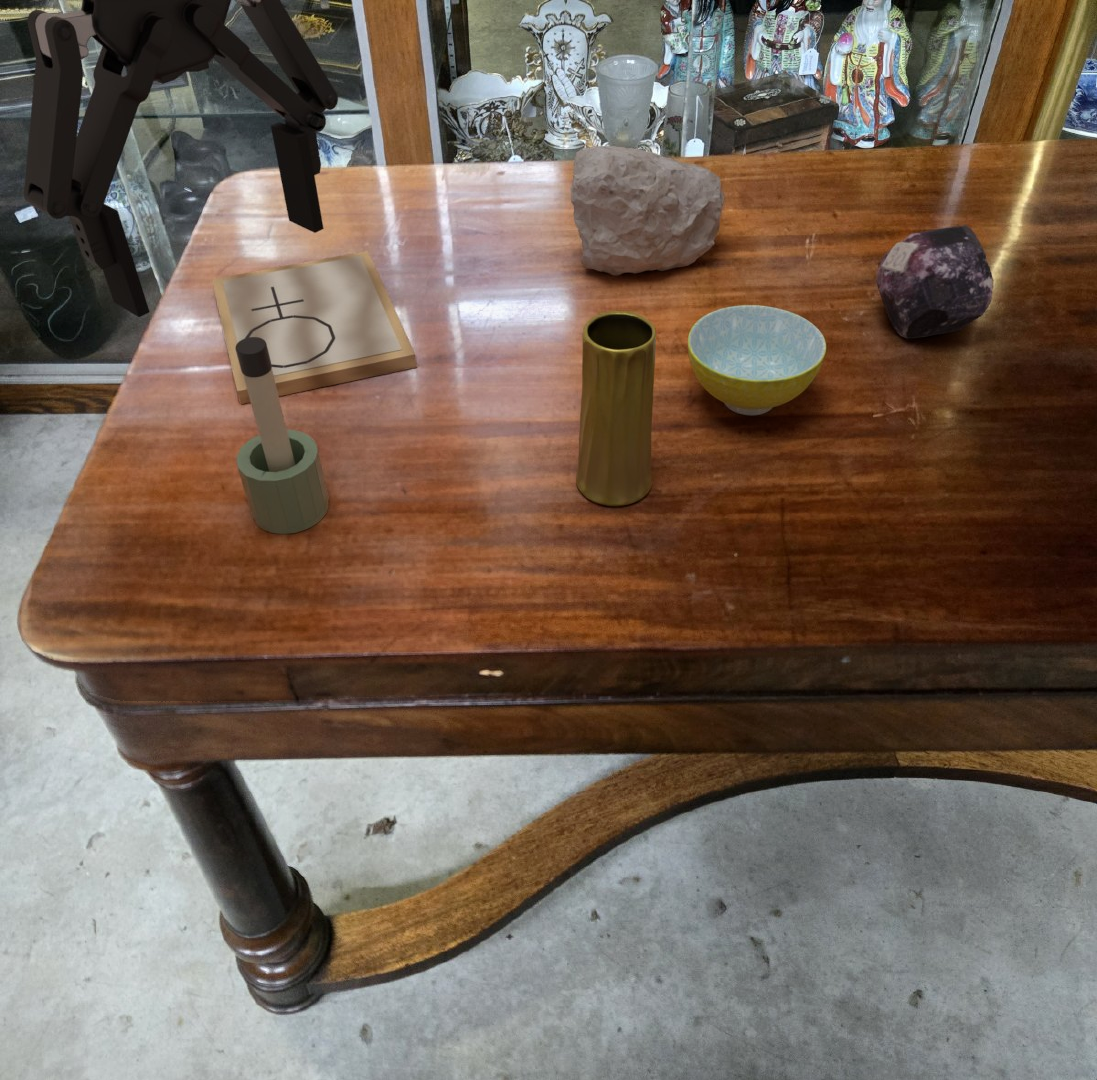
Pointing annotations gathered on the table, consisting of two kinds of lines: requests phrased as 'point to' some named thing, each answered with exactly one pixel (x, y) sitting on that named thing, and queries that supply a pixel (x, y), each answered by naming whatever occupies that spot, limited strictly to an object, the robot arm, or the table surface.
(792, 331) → the bowl
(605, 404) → the vase
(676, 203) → the rough grey rock
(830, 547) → the table surface
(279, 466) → the pen
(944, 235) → the mineral specimen
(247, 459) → the pencil pot
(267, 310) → the sketch board
